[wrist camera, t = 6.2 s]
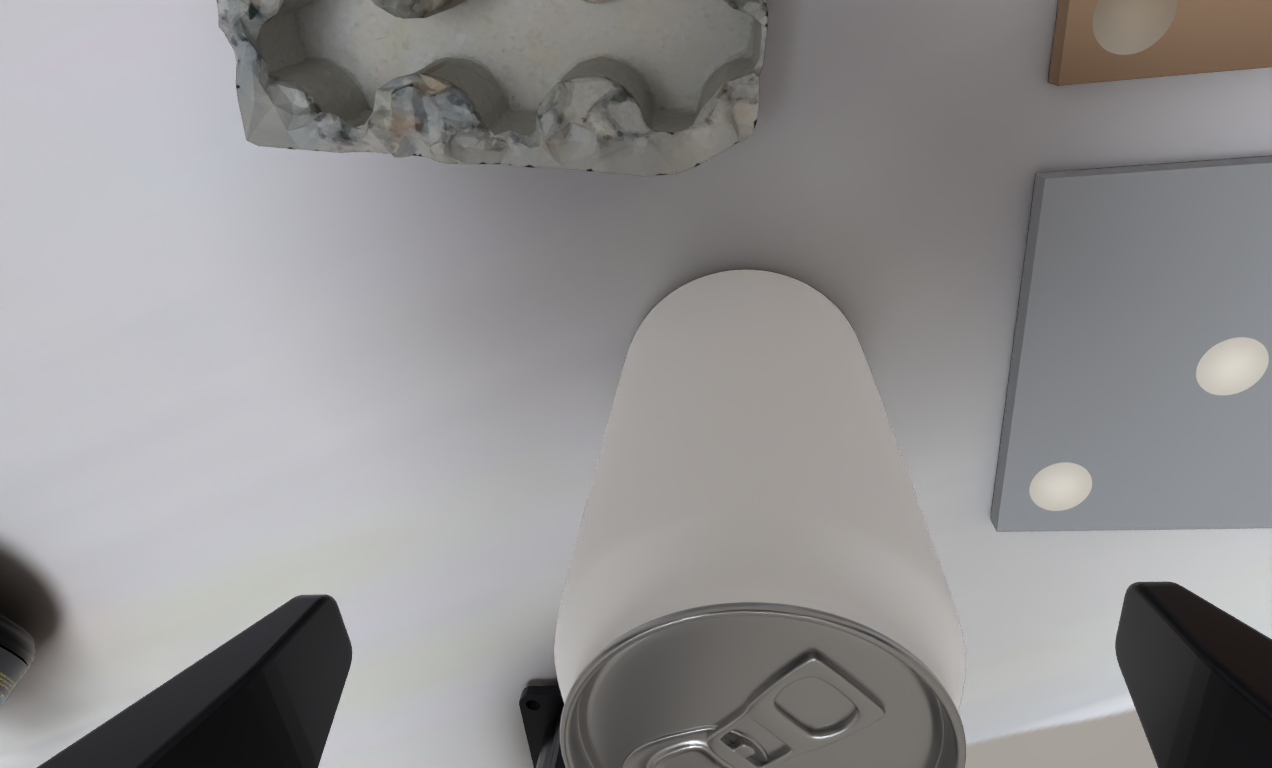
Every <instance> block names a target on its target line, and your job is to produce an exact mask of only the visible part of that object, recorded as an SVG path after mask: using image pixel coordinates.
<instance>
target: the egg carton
mask: <svg viewBox="0 0 1272 768" xmlns="http://www.w3.org/2000/svg"><path fill="white" fill-rule="evenodd" d="M217 6H218V14H219V28H220V29H221V30H222V31H223V32H224V34H225V35H226V37H227V39H228V41H229V43H230V44H231V46H232V48H233V50H234V52H235V57H236V62H237V66H236V88H237V96H238V102H239V107H240V112H241V116H242V121H243V126H244V130H245V135H246V140H247V141H249V142H251V143H253V144H255V145H258V146H265V147H277V148H288V149H300V150H314V151H327V152H339V153H346V152H377V153H387V154H392V155H393V156H394V157H406V156H413V155H416V156H423V157H428V158H431V159H433V160H436V161H438V162H441V163H449V164H503V165H513V166H522V167H532V168H569V169H576V170H583V171H593V172H604V173H615V174H627V175H638V176H654V175H668V174H677V173H679V172H682V171H685V170H687V169H690V168H693V167H695V166H698V165H699V164H701V163H703V162H705V161H706V160H708V159H710V158H712V157H713V156H715V155H717V154H719V153H720V152H722V151H724V150H726V149H727V148H729V147H731V146H733V145H734V144H736V143H738V142H740V141H742V140H743V139H745V138H747V137H749V136H751V135H752V134H753V131H754V128H755V125H756V122H757V118H758V108H759V81H758V79H759V74H760V72H761V69H762V65H763V59H764V52H765V44H766V34H767V22H768V8H767V6H766V0H217Z"/></svg>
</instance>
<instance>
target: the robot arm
mask: <svg viewBox="0 0 1272 768" xmlns="http://www.w3.org/2000/svg"><path fill="white" fill-rule="evenodd" d="M1115 648H1116V656H1117V660H1118V663H1119V666H1120V669H1121V672H1122V674H1123V677H1124V679H1125V682H1126V685H1127V687H1128V690H1129V693H1130V695H1131V698H1132V700H1133V703H1134V706H1135V708H1136V711H1137V713H1138V716H1139V718H1140V721H1141V724H1142V727H1143V729H1144V731H1145V734H1146V737H1147V740H1148V742H1149V745H1150V747H1151V750H1152V753H1153V755H1154V758H1155V760H1156V763H1157V766H1158V768H1272V639H1270V638H1268V637H1267V636H1265V635H1263V634H1262V633H1260V632H1258V631H1257V630H1255V629H1253V628H1252V627H1250V626H1248V625H1247V624H1245V623H1243V622H1241V621H1240V620H1238V619H1236V618H1235V617H1233V616H1231V615H1230V614H1228V613H1226V612H1225V611H1223V610H1221V609H1219V608H1218V607H1216V606H1214V605H1213V604H1211V603H1209V602H1208V601H1206V600H1204V599H1203V598H1201V597H1199V596H1197V595H1196V594H1194V593H1192V592H1191V591H1189V590H1187V589H1186V588H1184V587H1182V586H1180V585H1178V584H1176V583H1173V582H1136V583H1133V584H1131V585H1130V586H1129V587H1128V589H1127V591H1126V594H1125V597H1124V602H1123V607H1122V612H1121V616H1120V621H1119V626H1118V631H1117V635H1116V642H1115ZM351 660H352V646H351V642H350V639H349V636H348V633H347V631H346V628H345V625H344V622H343V619H342V616H341V613H340V610H339V608H338V605H337V603H336V601H335V600H334V598H333V597H331V596H329V595H300V596H297V597H294V598H293V599H291V600H290V601H288V602H287V603H285V604H284V605H282V606H281V607H279V608H278V609H276V610H275V611H273V612H272V613H270V614H268V615H267V616H265V617H264V618H262V619H261V620H259V621H258V622H256V623H255V624H253V625H252V626H250V627H249V628H247V629H246V630H244V631H243V632H241V633H240V634H238V635H237V636H235V637H234V638H232V639H231V640H229V641H228V642H226V643H225V644H223V645H222V646H220V647H219V648H217V649H216V650H214V651H213V652H211V653H210V654H208V655H206V656H205V657H203V658H202V659H200V660H199V661H197V662H196V663H194V664H193V665H191V666H190V667H188V668H187V669H185V670H184V671H182V672H181V673H179V674H178V675H176V676H175V677H173V678H172V679H170V680H169V681H167V682H166V683H164V684H163V685H161V686H160V687H158V688H157V689H155V690H154V691H152V692H151V693H149V694H147V695H146V696H144V697H143V698H141V699H140V700H138V701H137V702H135V703H134V704H132V705H131V706H129V707H128V708H126V709H125V710H123V711H122V712H120V713H119V714H117V715H116V716H114V717H113V718H111V719H110V720H108V721H107V722H105V723H104V724H102V725H101V726H99V727H98V728H96V729H95V730H93V731H92V732H90V733H88V734H87V735H85V736H84V737H82V738H81V739H79V740H78V741H76V742H75V743H73V744H72V745H70V746H69V747H67V748H66V749H64V750H63V751H61V752H60V753H58V754H57V755H55V756H54V757H52V758H51V759H49V760H48V761H46V762H45V763H43V764H42V765H40V766H39V767H37V768H318V765H319V762H320V759H321V756H322V753H323V750H324V747H325V744H326V740H327V737H328V734H329V731H330V728H331V725H332V722H333V719H334V716H335V713H336V709H337V706H338V703H339V700H340V697H341V694H342V691H343V688H344V685H345V681H346V678H347V675H348V672H349V669H350V665H351ZM534 700H535V701H534ZM519 706H520V710H521V714H522V718H523V723H524V727H525V731H526V735H527V740H528V744H529V748H530V752H531V757H532V761H533V765H534V768H566V767H565V763H564V760H563V756H562V752H561V745H560V722H561V715H562V711H563V707H564V701H563V698H562V695H561V691H560V688H559V686H528V687H526V688H525V689H524V690H523V691H522V694H521V697H520V701H519Z"/></svg>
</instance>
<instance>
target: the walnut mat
mask: <svg viewBox="0 0 1272 768" xmlns="http://www.w3.org/2000/svg"><path fill="white" fill-rule="evenodd" d="M1267 67H1272V0H1059V3H1058V10H1057V18H1056V25H1055V33H1054V41H1053V48H1052V56H1051V63H1050V71H1049V78H1048V82H1049V83H1052V84H1055V85H1058V86H1059V85H1071V84H1082V83H1094V82H1105V81H1117V80H1128V79H1140V78H1151V77H1163V76H1174V75H1186V74H1198V73H1209V72H1221V71H1232V70H1244V69H1255V68H1267Z"/></svg>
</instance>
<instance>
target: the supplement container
mask: <svg viewBox="0 0 1272 768" xmlns="http://www.w3.org/2000/svg"><path fill="white" fill-rule="evenodd" d="M34 643H35V642H34V640H33V638H32V637H31V635H30V634H29V633H28V632H26V631H25V630H24V629H23V628H21V627H20V626H18V625H17V624H15V623H14V622H12V621H11V620H9V619H7V618H5V617H4V616H2V615H0V706H1V704H2V703H3V702H4V700H5V699H6V698H7V696H8V695H9V694H10V692H11V691H12V690H13V688H14V687H15V686H16V684H17V683H18V682H19V680H20V679H21V678H22V676H23V675H24V674H25V672H26V671H27V670H28V668H29V667H30V666H31V664H32V660H33V658H34V656H35V647H34Z"/></svg>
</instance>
